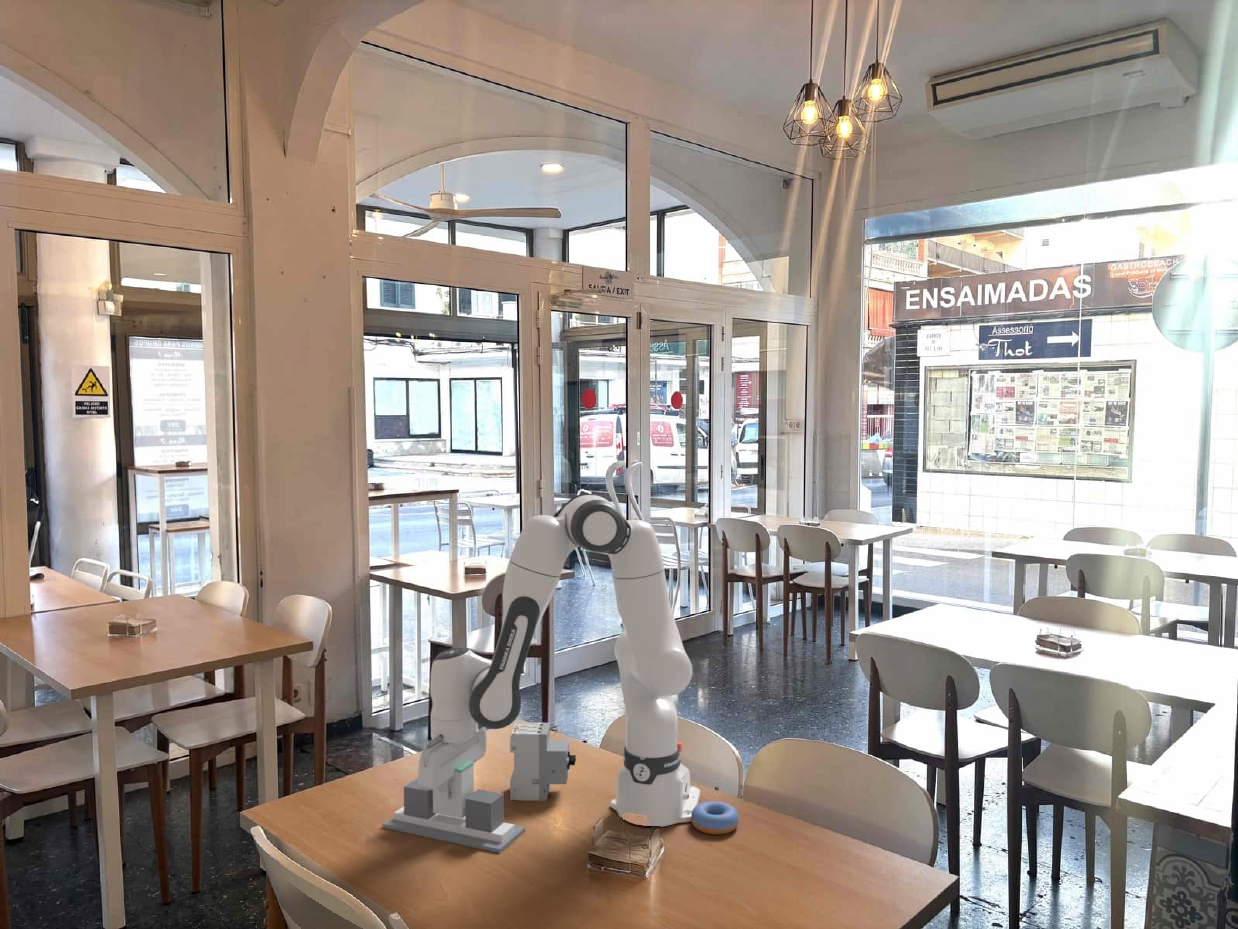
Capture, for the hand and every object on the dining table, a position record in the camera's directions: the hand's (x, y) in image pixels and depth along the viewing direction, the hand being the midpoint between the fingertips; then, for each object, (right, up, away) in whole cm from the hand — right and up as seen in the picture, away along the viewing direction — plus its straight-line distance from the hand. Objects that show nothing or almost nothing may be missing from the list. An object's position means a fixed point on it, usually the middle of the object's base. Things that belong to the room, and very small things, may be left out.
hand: (453, 793), depth 183 cm
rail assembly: (0, -8, 0) cm, 8 cm away
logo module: (0, -4, 0) cm, 4 cm away
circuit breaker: (+17, -7, +18) cm, 26 cm away
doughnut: (+54, -8, +2) cm, 55 cm away
